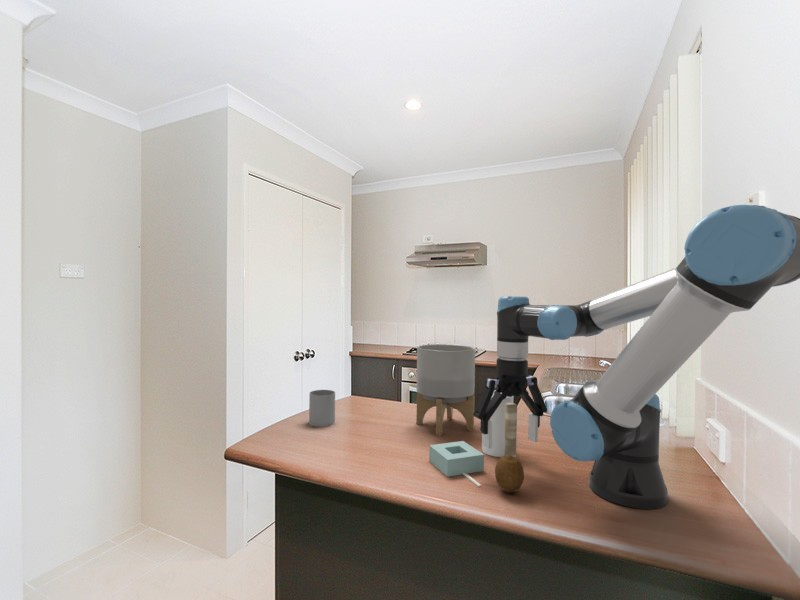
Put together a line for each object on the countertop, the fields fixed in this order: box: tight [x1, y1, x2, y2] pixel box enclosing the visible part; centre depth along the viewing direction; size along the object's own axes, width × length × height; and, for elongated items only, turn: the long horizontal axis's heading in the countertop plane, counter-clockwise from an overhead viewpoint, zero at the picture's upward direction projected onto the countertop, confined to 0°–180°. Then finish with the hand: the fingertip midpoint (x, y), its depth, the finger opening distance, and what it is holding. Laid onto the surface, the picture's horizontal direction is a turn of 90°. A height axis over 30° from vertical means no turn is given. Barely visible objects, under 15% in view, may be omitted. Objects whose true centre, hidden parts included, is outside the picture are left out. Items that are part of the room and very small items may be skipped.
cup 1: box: [308, 389, 336, 428], centre depth 137 cm, size 8×8×10 cm
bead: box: [428, 440, 485, 478], centre depth 104 cm, size 10×10×4 cm
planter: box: [415, 343, 476, 437], centre depth 135 cm, size 19×19×26 cm
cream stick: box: [462, 473, 482, 488], centre depth 96 cm, size 7×1×1 cm, turn 21°
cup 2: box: [481, 389, 514, 458], centre depth 114 cm, size 8×8×16 cm
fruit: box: [494, 455, 525, 493], centre depth 90 cm, size 6×6×8 cm
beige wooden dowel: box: [504, 402, 518, 458], centre depth 103 cm, size 3×3×16 cm
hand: (510, 443), depth 103 cm, fingers open, 13 cm apart
